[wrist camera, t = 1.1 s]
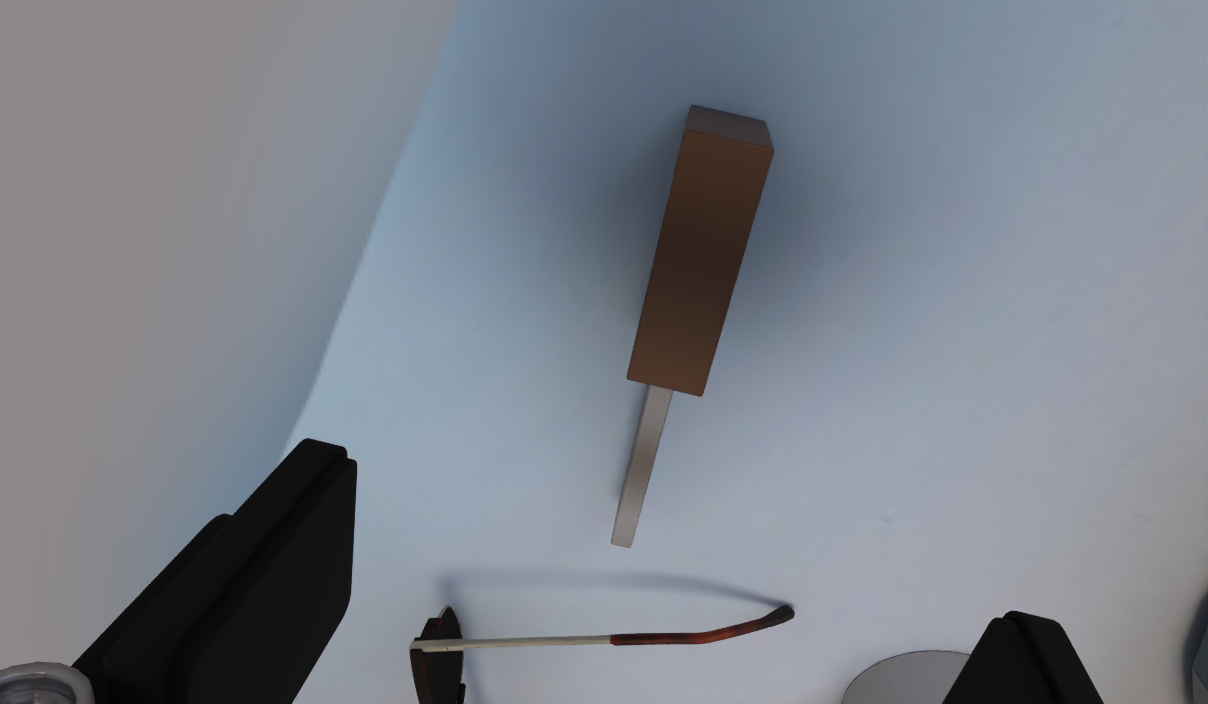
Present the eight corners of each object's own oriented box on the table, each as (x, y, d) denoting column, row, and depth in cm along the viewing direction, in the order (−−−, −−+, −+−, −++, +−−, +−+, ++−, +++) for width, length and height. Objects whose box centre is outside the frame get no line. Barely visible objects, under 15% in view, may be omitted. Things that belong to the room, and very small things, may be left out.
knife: (690, 103, 24) (684, 128, 20) (766, 120, 24) (775, 148, 20) (600, 491, 32) (582, 564, 28) (658, 505, 31) (648, 580, 28)
